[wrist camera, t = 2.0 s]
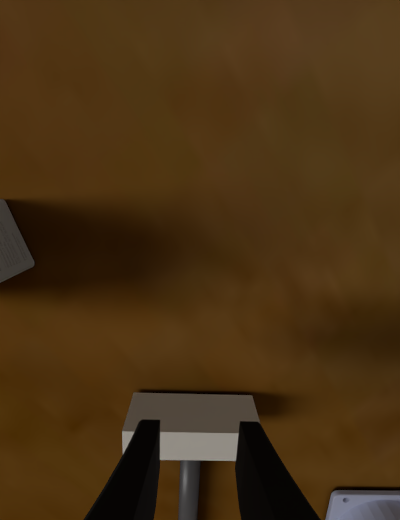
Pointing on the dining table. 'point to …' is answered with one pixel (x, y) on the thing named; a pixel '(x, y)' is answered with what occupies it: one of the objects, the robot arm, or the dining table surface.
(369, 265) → the dining table surface
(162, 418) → the white ended gray rod
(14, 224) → the skincare box
